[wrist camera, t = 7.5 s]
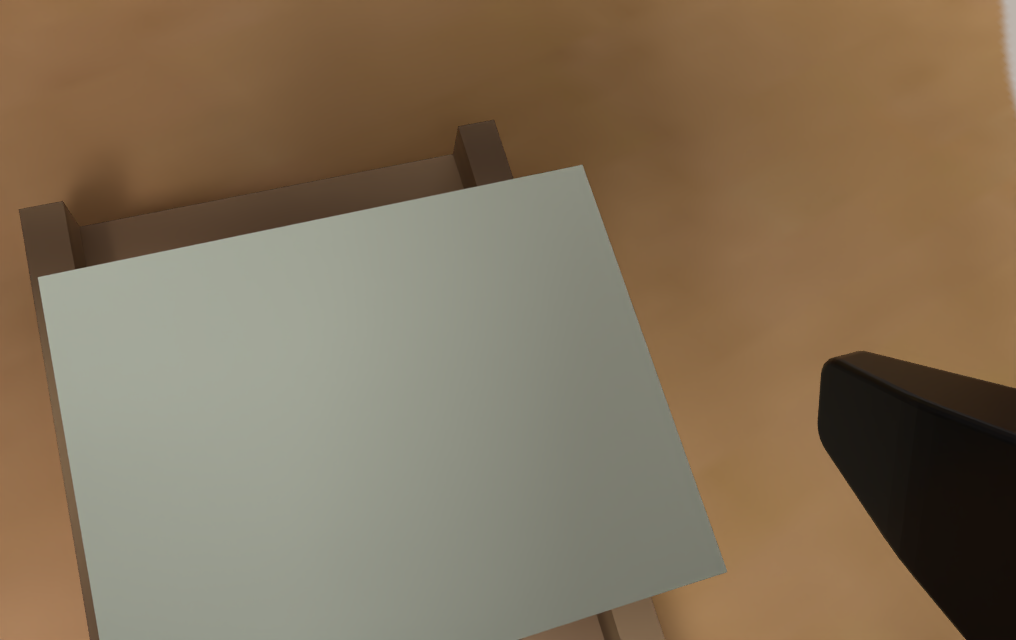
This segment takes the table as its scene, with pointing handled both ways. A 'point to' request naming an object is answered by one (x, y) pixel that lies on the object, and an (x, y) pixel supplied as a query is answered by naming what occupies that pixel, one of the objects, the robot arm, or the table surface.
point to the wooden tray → (65, 246)
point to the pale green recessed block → (374, 427)
